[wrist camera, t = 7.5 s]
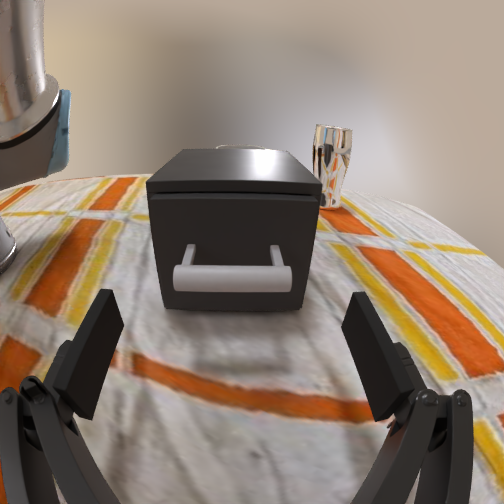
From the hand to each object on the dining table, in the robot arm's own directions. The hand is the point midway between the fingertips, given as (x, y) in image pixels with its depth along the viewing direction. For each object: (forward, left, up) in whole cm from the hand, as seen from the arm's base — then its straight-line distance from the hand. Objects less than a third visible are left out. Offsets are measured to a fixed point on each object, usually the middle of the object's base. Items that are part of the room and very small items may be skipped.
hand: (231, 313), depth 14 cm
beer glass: (+26, +31, -7) cm, 41 cm away
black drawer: (+3, +11, -6) cm, 13 cm away
